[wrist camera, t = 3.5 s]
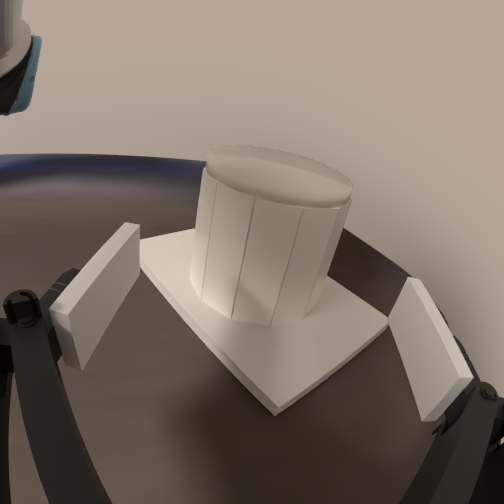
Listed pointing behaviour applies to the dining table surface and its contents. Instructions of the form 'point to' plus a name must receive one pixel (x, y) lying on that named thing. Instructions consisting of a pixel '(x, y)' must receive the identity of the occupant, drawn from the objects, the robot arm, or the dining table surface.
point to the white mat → (265, 328)
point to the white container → (266, 232)
